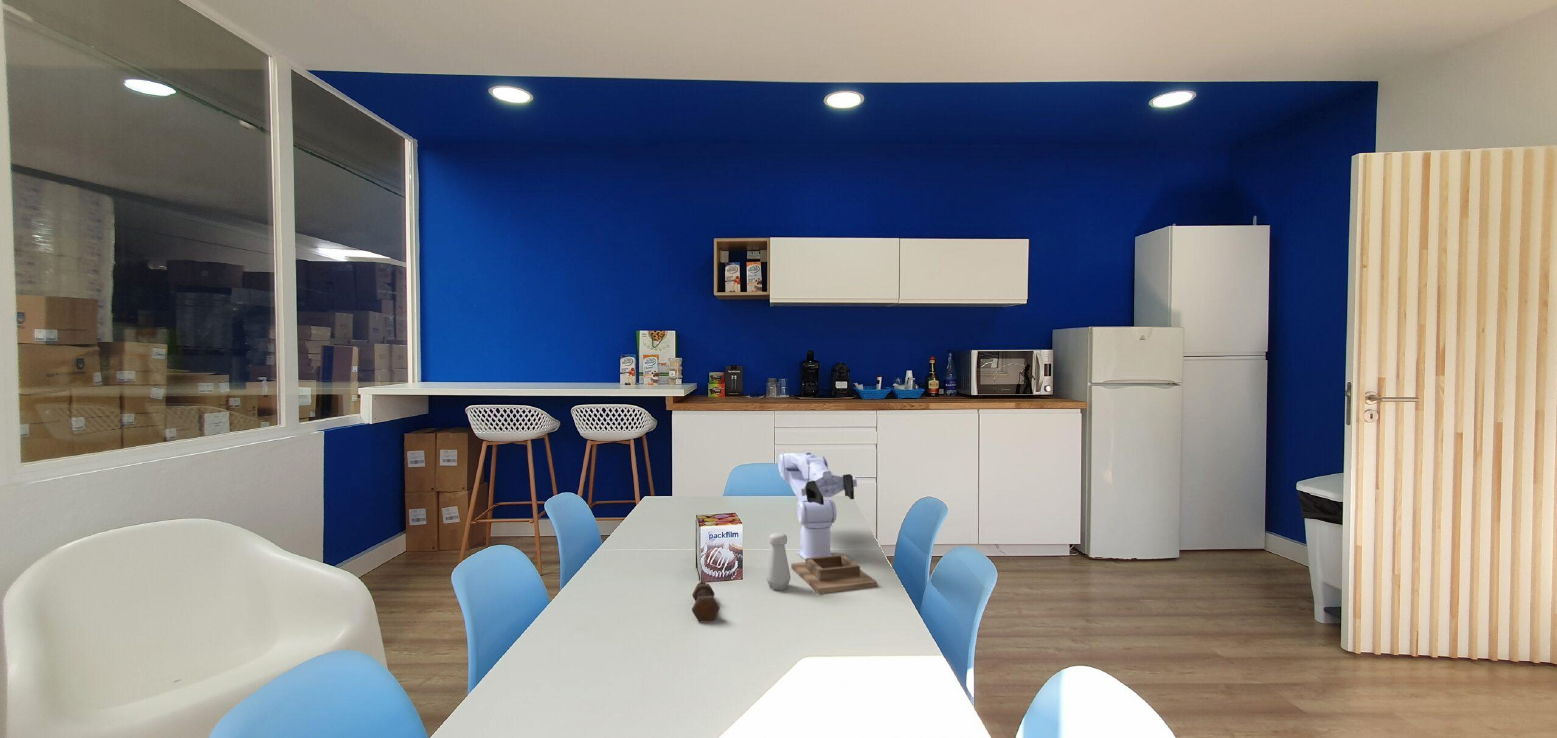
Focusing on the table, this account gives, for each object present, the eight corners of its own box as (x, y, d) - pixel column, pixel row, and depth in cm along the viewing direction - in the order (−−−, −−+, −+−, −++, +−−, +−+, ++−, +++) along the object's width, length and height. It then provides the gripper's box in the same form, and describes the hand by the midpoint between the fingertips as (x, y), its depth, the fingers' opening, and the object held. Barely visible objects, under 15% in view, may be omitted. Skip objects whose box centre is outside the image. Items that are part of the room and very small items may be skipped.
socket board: (791, 567, 179) (791, 553, 179) (844, 562, 184) (844, 548, 183) (818, 593, 160) (818, 578, 160) (876, 586, 164) (876, 571, 164)
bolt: (705, 604, 159) (709, 628, 145) (686, 594, 159) (688, 617, 144) (718, 581, 160) (723, 603, 145) (699, 572, 159) (702, 592, 144)
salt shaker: (762, 590, 163) (762, 535, 163) (771, 582, 168) (771, 529, 168) (785, 593, 161) (785, 538, 160) (794, 585, 166) (793, 531, 166)
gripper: (794, 469, 178) (806, 487, 165) (848, 460, 181) (864, 477, 167) (797, 494, 180) (809, 515, 166) (850, 485, 182) (866, 504, 169)
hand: (837, 498), depth 167 cm, fingers open, 7 cm apart
